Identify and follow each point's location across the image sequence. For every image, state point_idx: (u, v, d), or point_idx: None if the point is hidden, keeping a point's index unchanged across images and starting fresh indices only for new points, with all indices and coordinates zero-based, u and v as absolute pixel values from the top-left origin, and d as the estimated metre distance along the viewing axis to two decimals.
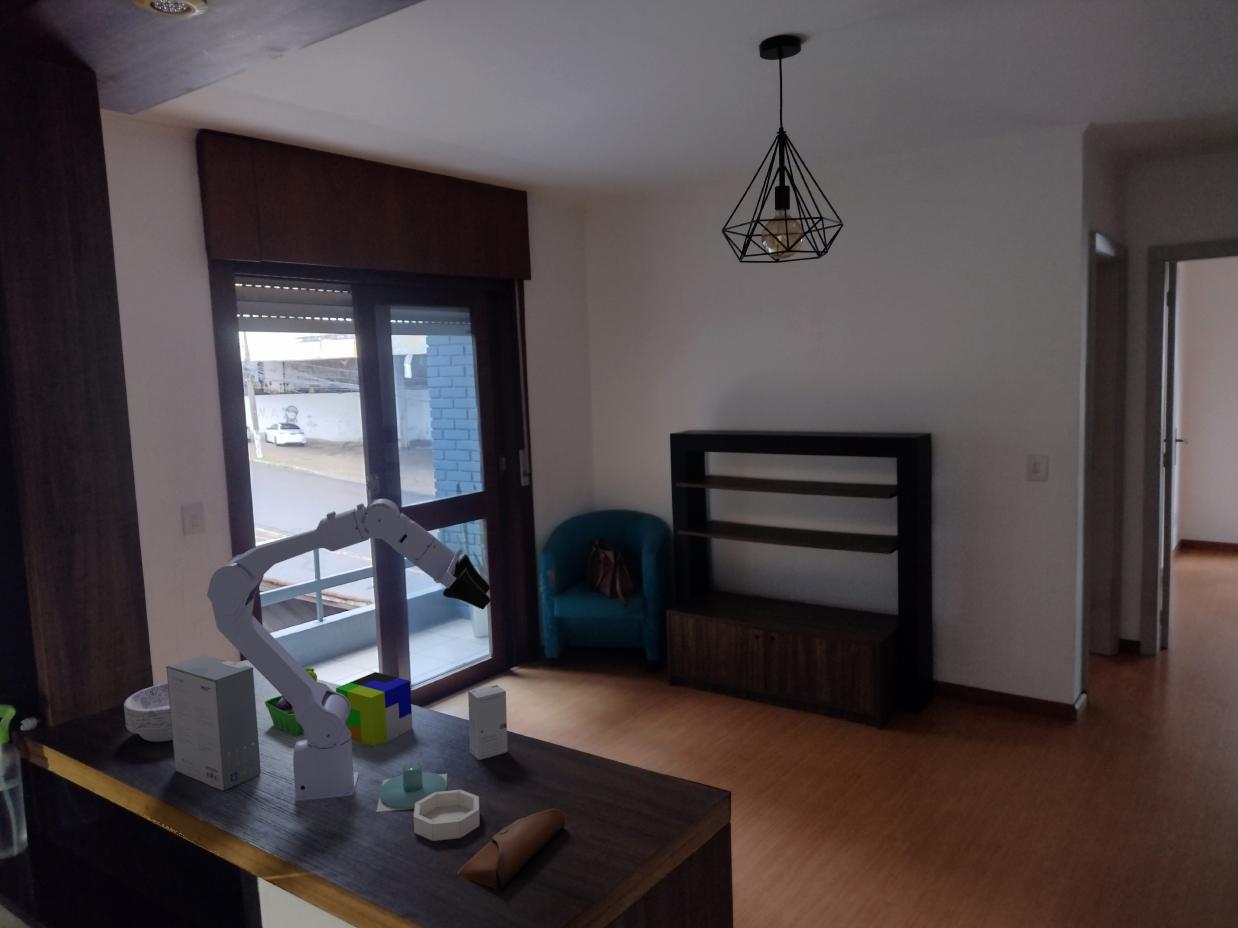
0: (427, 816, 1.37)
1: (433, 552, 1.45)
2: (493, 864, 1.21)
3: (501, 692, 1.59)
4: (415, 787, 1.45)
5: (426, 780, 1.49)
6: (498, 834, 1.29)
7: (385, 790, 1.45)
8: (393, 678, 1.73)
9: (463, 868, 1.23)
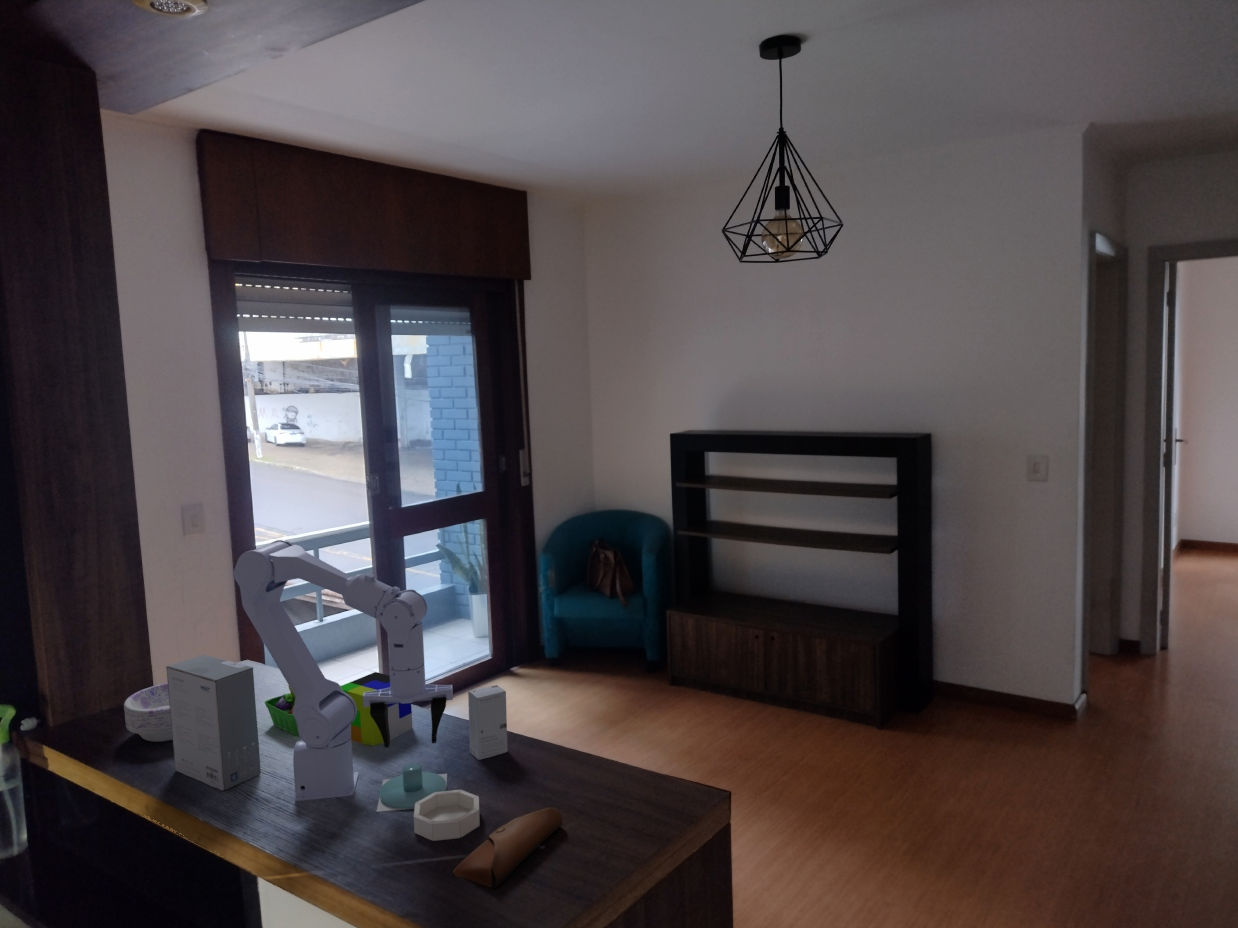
0: (427, 816, 1.37)
1: (390, 675, 1.42)
2: (488, 862, 1.21)
3: (501, 692, 1.59)
4: (415, 787, 1.45)
5: (426, 780, 1.49)
6: (495, 833, 1.29)
7: (385, 790, 1.45)
8: None
9: (459, 866, 1.24)
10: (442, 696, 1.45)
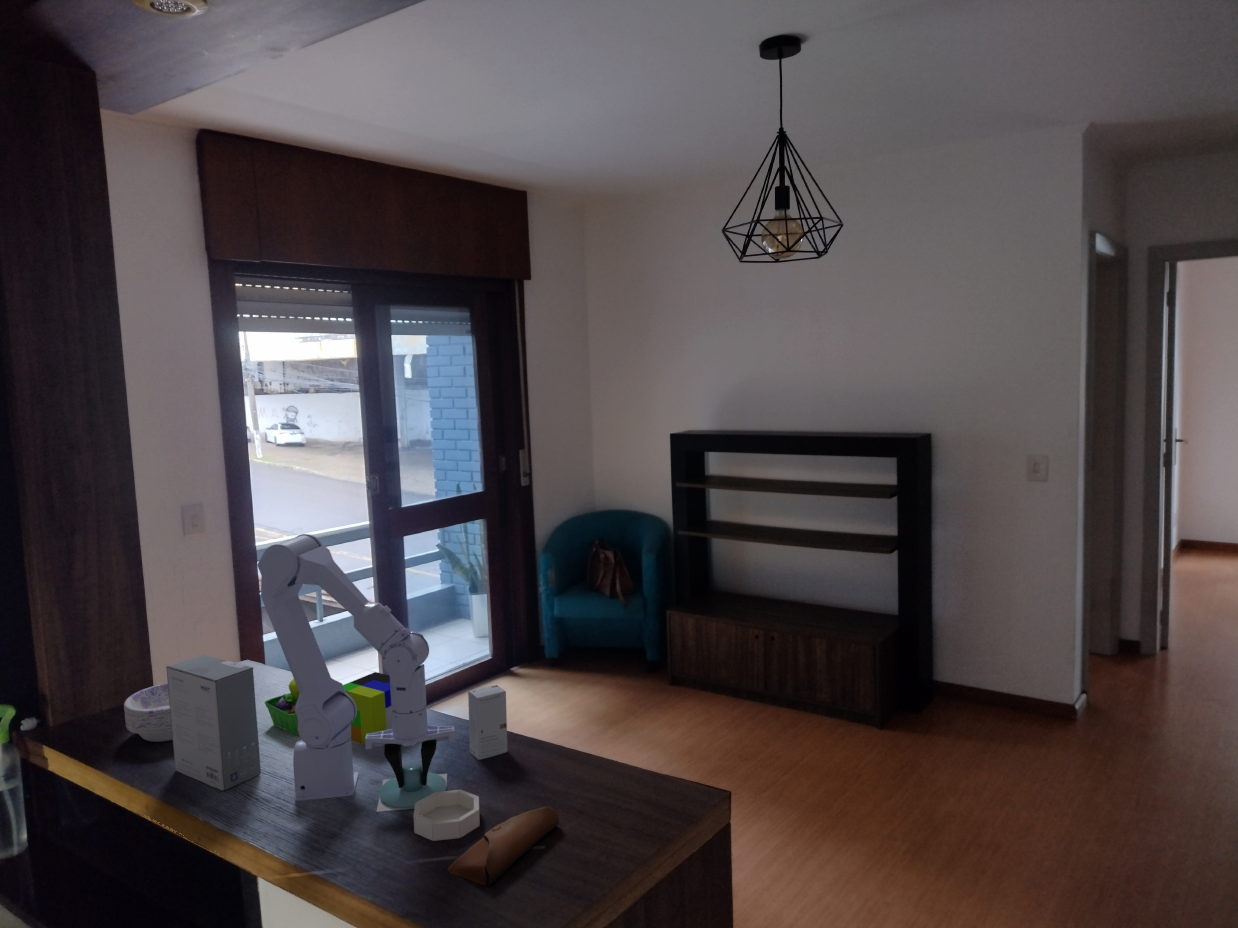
0: (427, 816, 1.37)
1: (393, 717, 1.43)
2: (482, 860, 1.21)
3: (501, 692, 1.59)
4: (415, 787, 1.45)
5: None
6: (491, 831, 1.29)
7: (386, 789, 1.45)
8: None
9: (454, 864, 1.24)
10: (444, 738, 1.46)
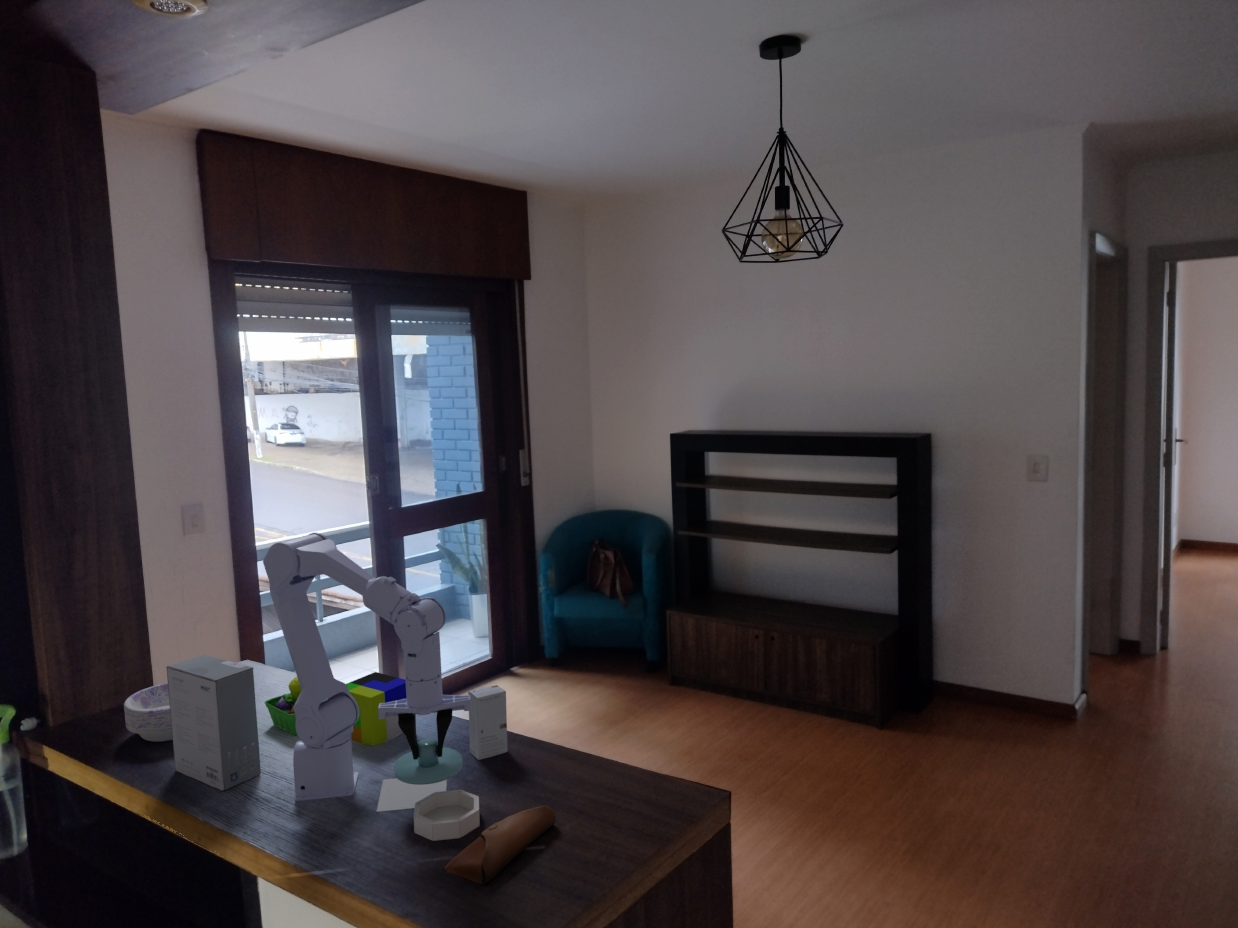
0: (427, 816, 1.37)
1: (407, 685, 1.37)
2: (479, 859, 1.22)
3: (501, 692, 1.59)
4: (431, 762, 1.39)
5: None
6: (487, 830, 1.30)
7: (400, 766, 1.40)
8: (393, 678, 1.73)
9: (451, 862, 1.25)
10: (460, 707, 1.40)
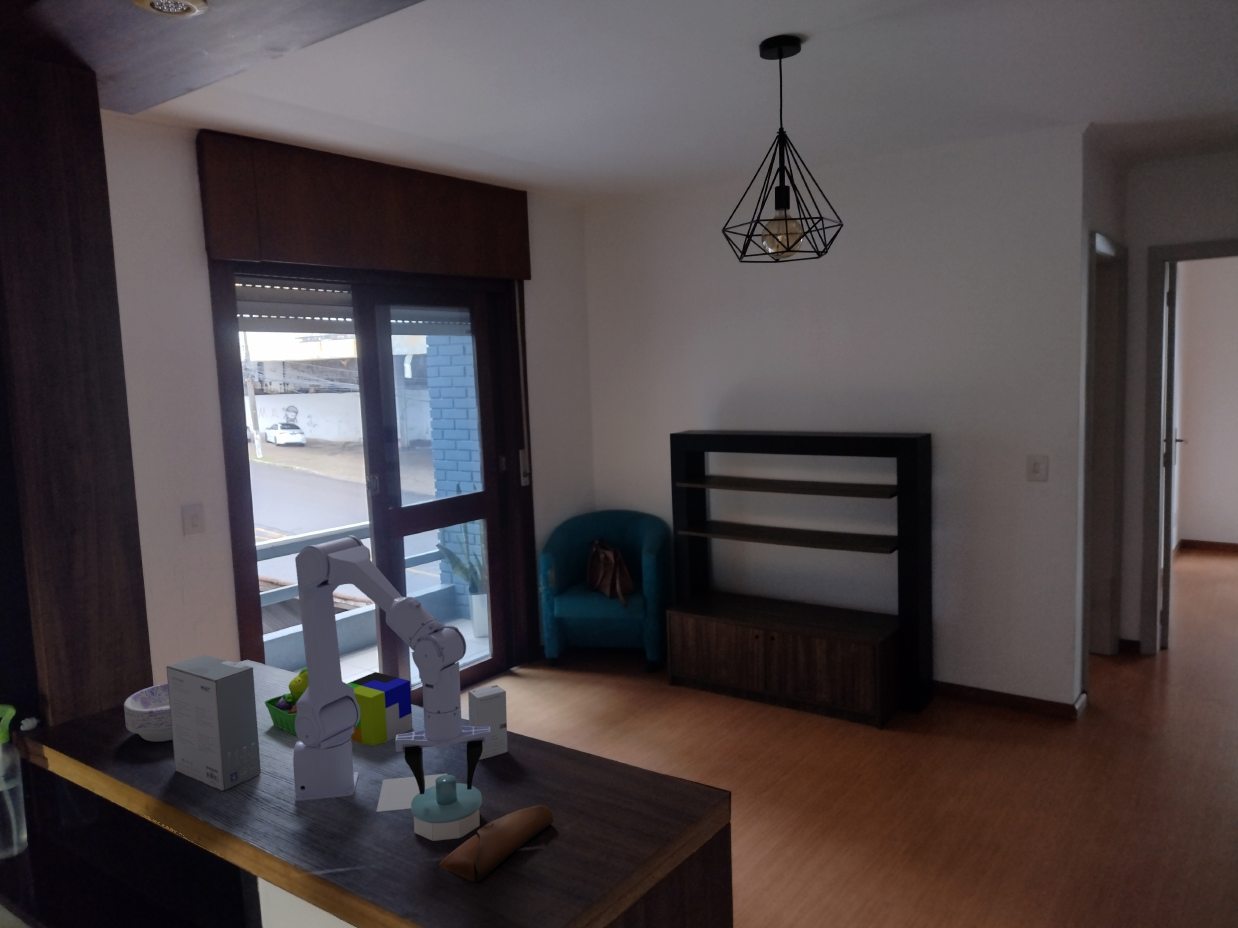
0: None
1: (425, 717, 1.33)
2: (472, 857, 1.22)
3: (501, 692, 1.59)
4: (450, 799, 1.35)
5: (459, 791, 1.39)
6: (484, 828, 1.30)
7: (417, 803, 1.35)
8: (393, 678, 1.73)
9: (445, 859, 1.26)
10: (479, 739, 1.35)
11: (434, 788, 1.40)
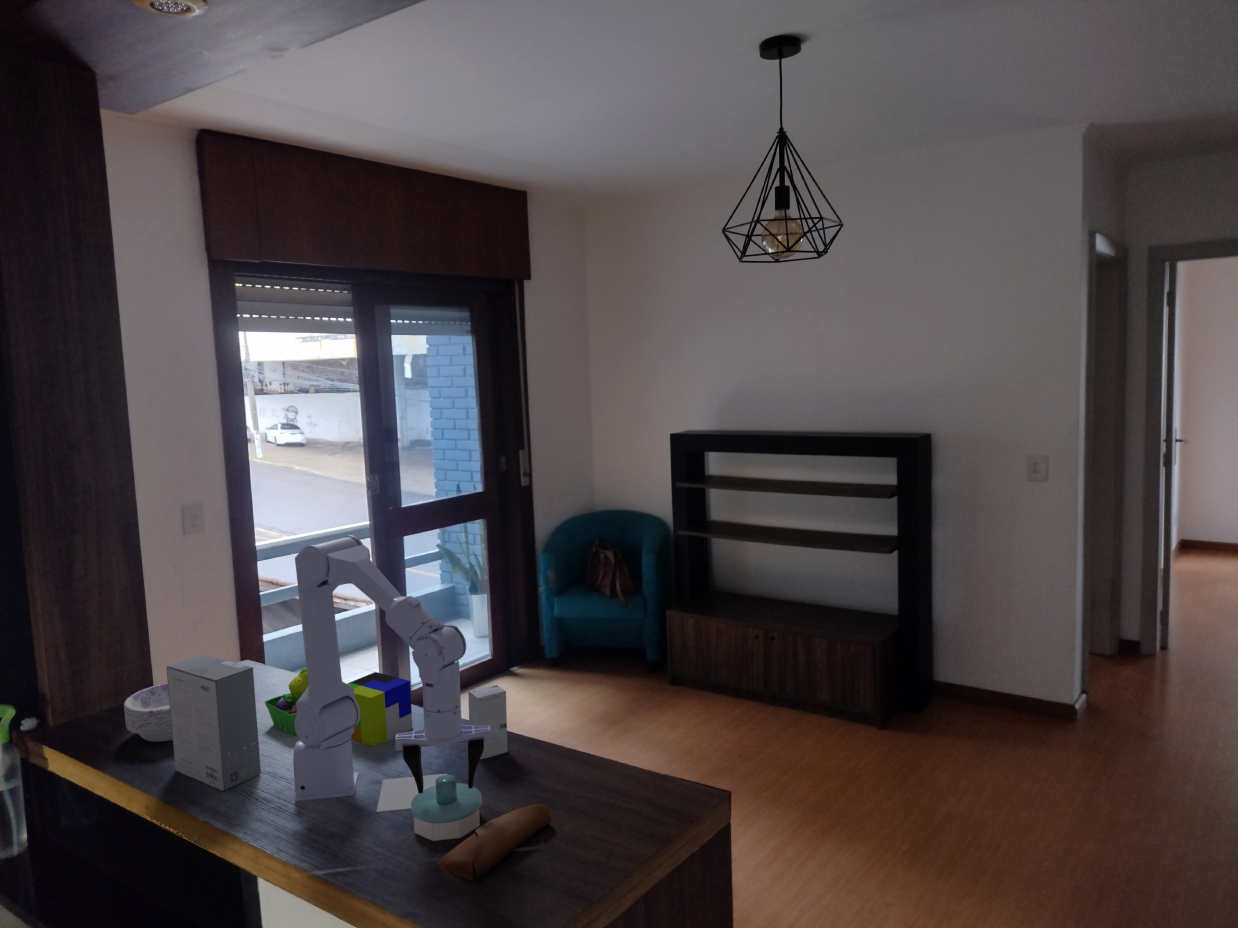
0: None
1: (425, 716, 1.33)
2: (470, 856, 1.23)
3: (501, 692, 1.59)
4: (450, 799, 1.35)
5: (459, 791, 1.39)
6: (482, 827, 1.31)
7: (417, 803, 1.35)
8: (393, 678, 1.73)
9: (443, 858, 1.26)
10: (479, 738, 1.35)
11: (434, 788, 1.40)
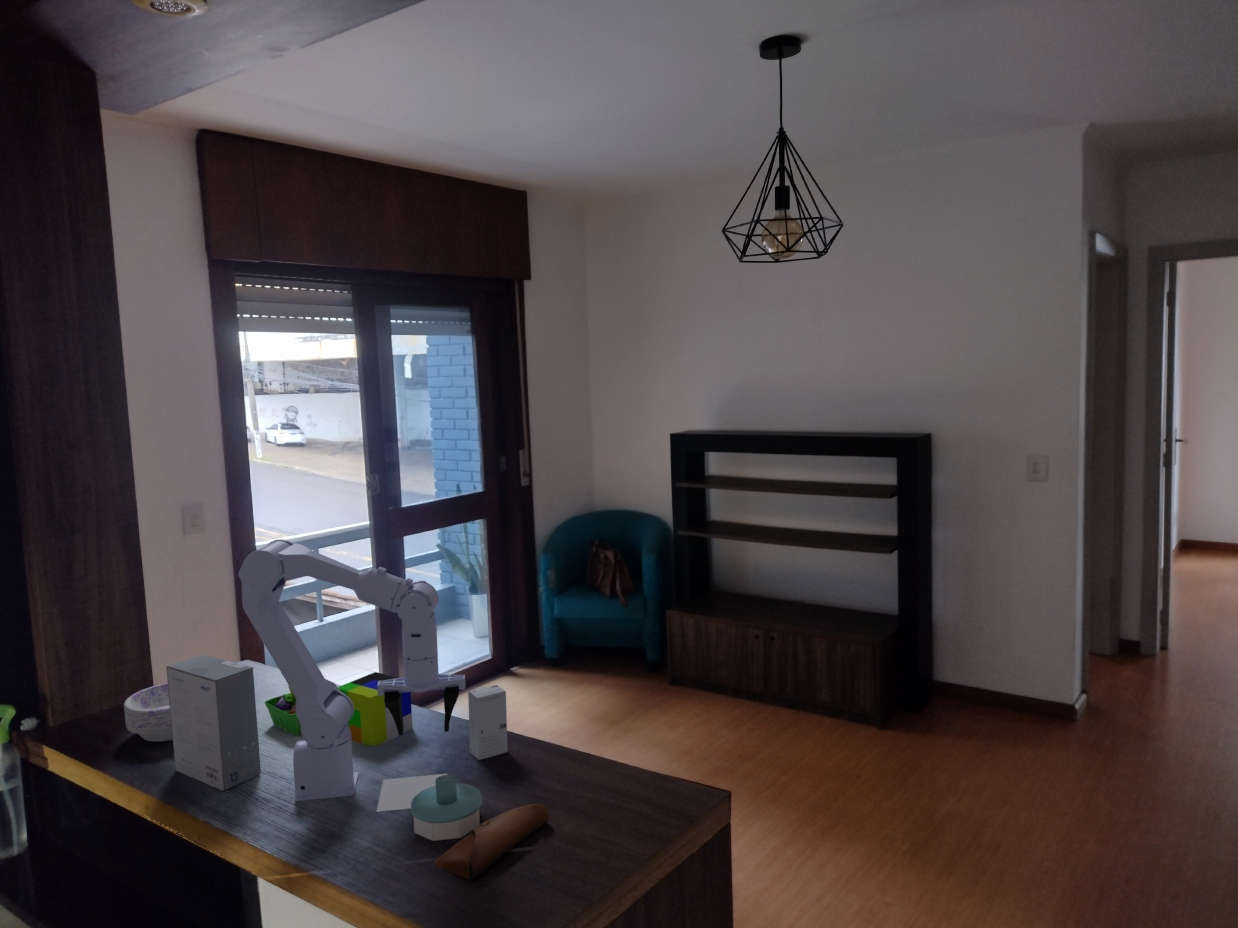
0: None
1: (404, 664, 1.45)
2: (467, 855, 1.23)
3: (501, 692, 1.59)
4: (450, 799, 1.35)
5: (459, 791, 1.39)
6: (479, 826, 1.31)
7: (417, 803, 1.35)
8: (393, 678, 1.73)
9: (441, 857, 1.26)
10: (455, 686, 1.47)
11: (434, 788, 1.40)
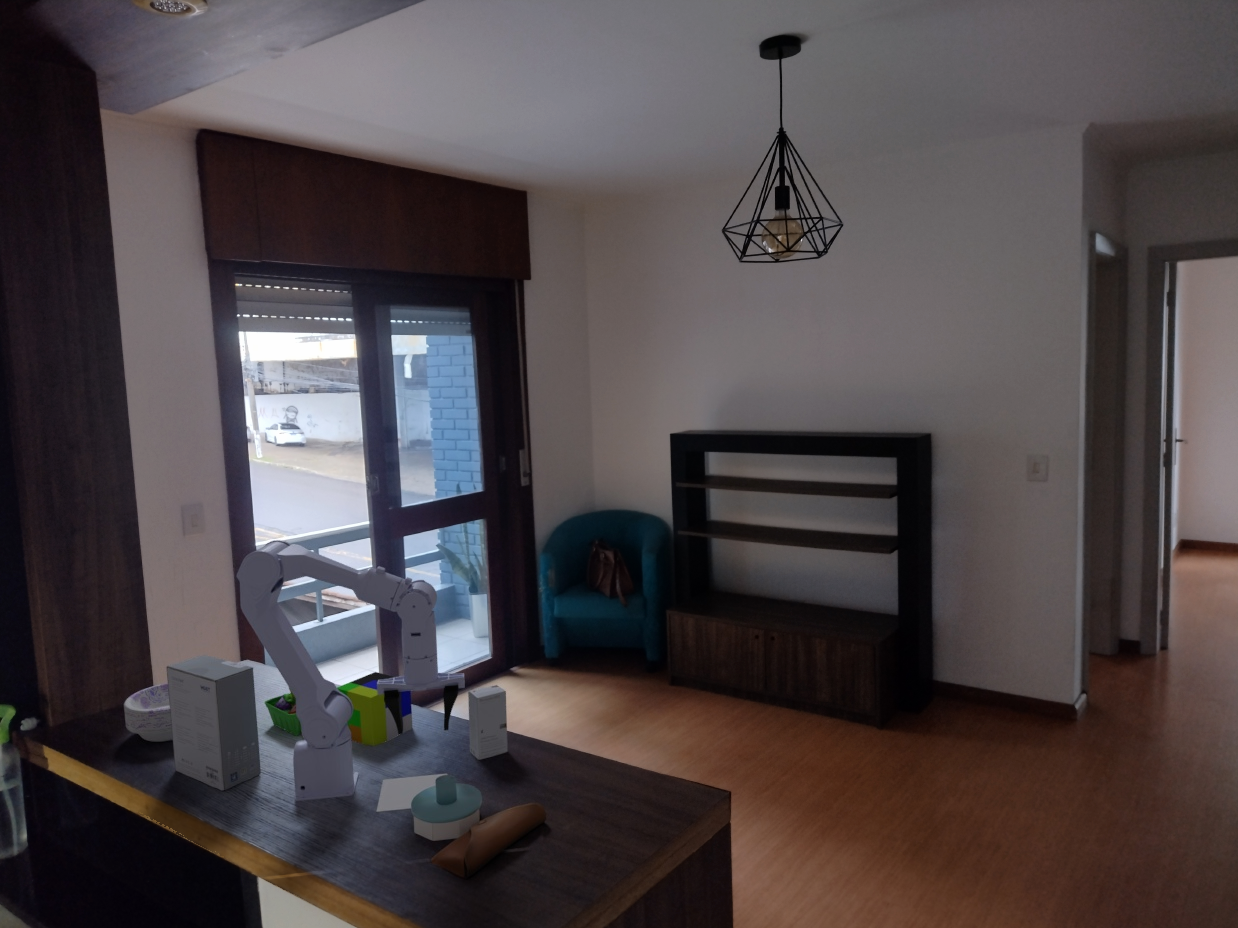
0: None
1: (404, 663, 1.45)
2: (462, 853, 1.23)
3: (501, 692, 1.59)
4: (450, 799, 1.35)
5: (459, 791, 1.39)
6: (476, 824, 1.31)
7: (417, 803, 1.35)
8: None
9: (437, 855, 1.27)
10: (454, 684, 1.48)
11: (434, 788, 1.40)
